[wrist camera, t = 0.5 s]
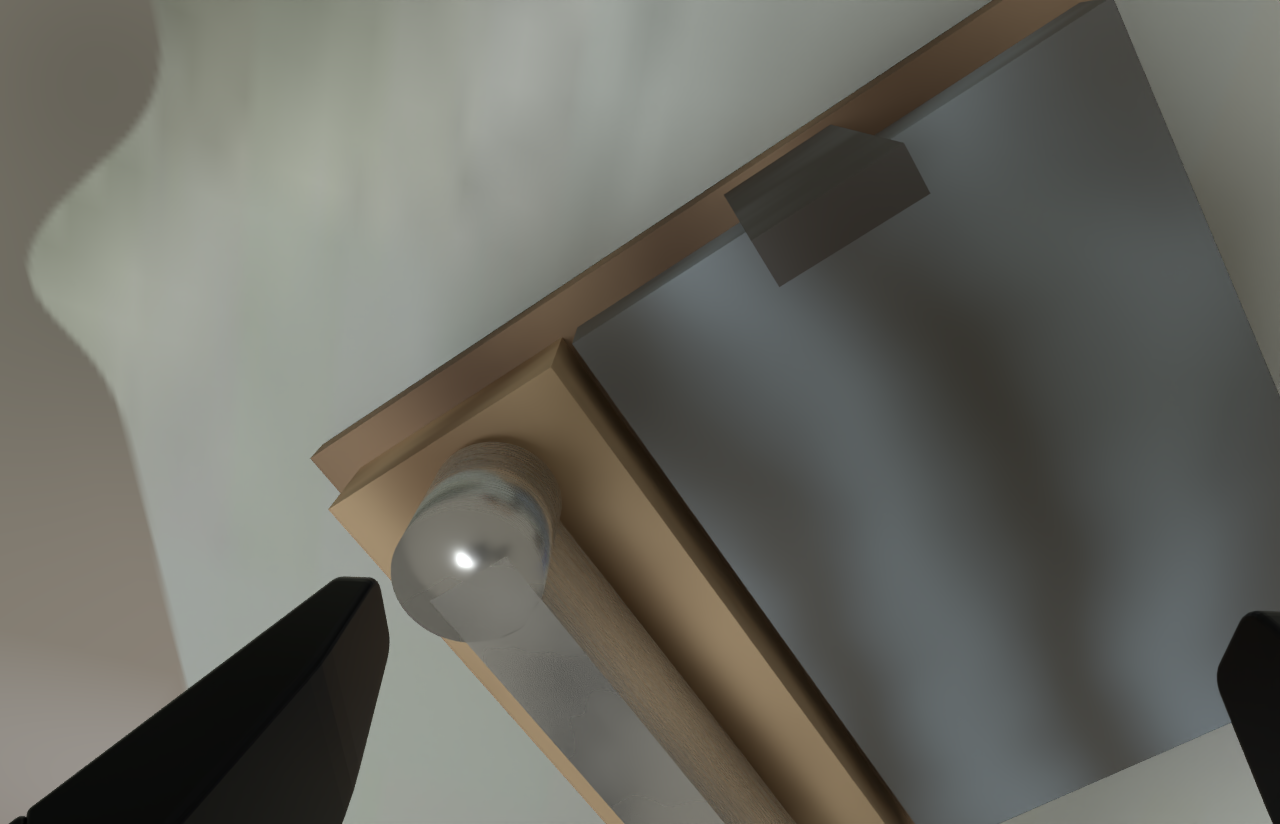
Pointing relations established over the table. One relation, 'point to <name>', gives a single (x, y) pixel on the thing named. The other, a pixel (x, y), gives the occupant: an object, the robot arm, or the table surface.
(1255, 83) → the table surface
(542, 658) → the lock bar
